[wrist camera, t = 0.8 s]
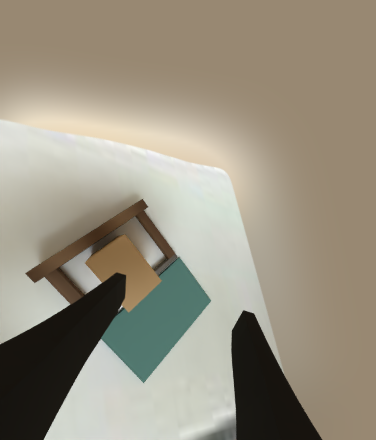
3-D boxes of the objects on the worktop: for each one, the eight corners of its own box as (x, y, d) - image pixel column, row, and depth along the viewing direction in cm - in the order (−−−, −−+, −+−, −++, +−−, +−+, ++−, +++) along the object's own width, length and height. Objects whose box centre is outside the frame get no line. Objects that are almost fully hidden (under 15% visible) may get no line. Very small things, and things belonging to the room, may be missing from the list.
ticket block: (120, 289, 22) (128, 312, 15) (91, 254, 21) (84, 263, 14) (144, 268, 24) (161, 281, 17) (118, 235, 23) (125, 234, 16)
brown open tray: (96, 326, 20) (95, 344, 17) (40, 266, 19) (25, 273, 15) (174, 256, 26) (185, 258, 23) (136, 204, 24) (142, 199, 21)
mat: (143, 380, 22) (143, 382, 22) (97, 332, 20) (97, 334, 20) (209, 300, 28) (211, 300, 28) (178, 257, 26) (179, 257, 26)
